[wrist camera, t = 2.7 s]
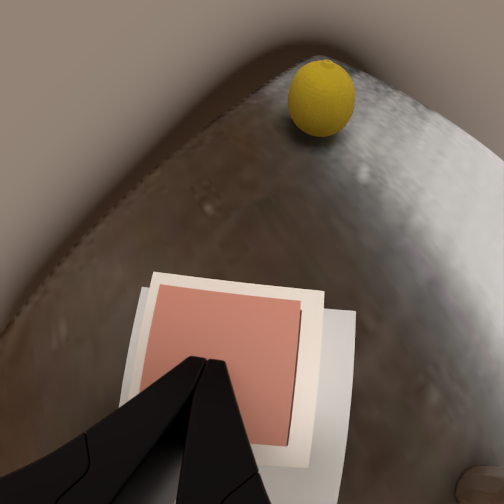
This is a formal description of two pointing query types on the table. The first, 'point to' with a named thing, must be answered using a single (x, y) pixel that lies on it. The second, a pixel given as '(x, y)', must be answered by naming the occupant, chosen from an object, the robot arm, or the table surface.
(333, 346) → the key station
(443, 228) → the table surface
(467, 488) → the takeaway coffee cup
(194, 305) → the salmon pink square block
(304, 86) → the lemon
